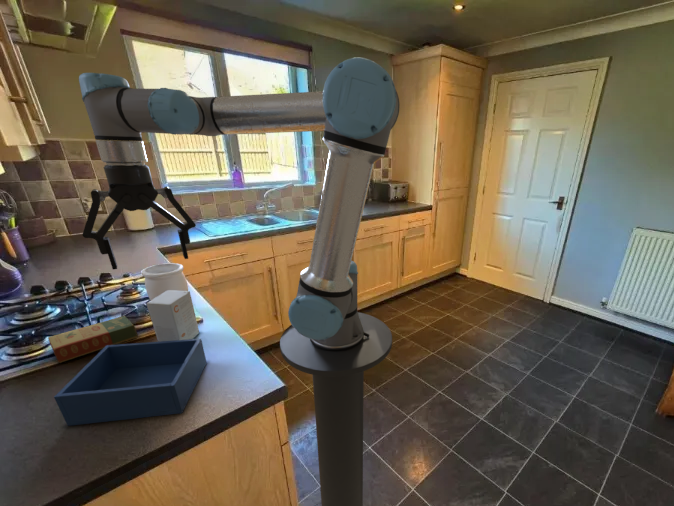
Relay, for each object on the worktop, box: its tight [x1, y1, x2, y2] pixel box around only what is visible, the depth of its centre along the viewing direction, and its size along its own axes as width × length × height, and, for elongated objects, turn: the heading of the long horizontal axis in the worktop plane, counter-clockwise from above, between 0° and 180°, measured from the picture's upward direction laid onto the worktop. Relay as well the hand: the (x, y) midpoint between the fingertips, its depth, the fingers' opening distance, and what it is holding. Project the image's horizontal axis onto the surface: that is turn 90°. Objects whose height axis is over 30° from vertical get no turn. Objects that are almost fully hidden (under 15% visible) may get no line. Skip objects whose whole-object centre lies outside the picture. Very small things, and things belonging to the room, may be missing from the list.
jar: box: [140, 262, 189, 301], centre depth 98 cm, size 11×10×15 cm
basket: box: [53, 338, 207, 427], centre depth 69 cm, size 20×17×7 cm
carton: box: [47, 315, 139, 364], centre depth 85 cm, size 8×16×4 cm, turn 140°
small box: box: [145, 290, 200, 342], centre depth 86 cm, size 8×6×13 cm
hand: (152, 262), depth 75 cm, fingers open, 13 cm apart
